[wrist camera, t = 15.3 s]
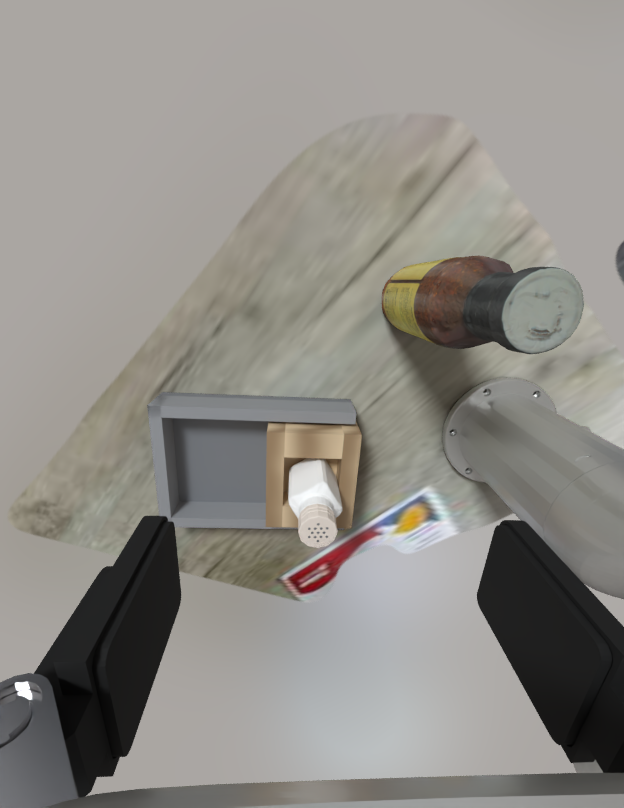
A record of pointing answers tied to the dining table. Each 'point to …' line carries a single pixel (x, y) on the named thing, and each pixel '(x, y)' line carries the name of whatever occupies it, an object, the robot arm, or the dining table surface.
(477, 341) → the sauce bottle
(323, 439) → the shaker cabinet door
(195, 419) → the tray
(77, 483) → the dining table surface
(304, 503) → the salt shaker
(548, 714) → the robot arm
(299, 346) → the dining table surface
